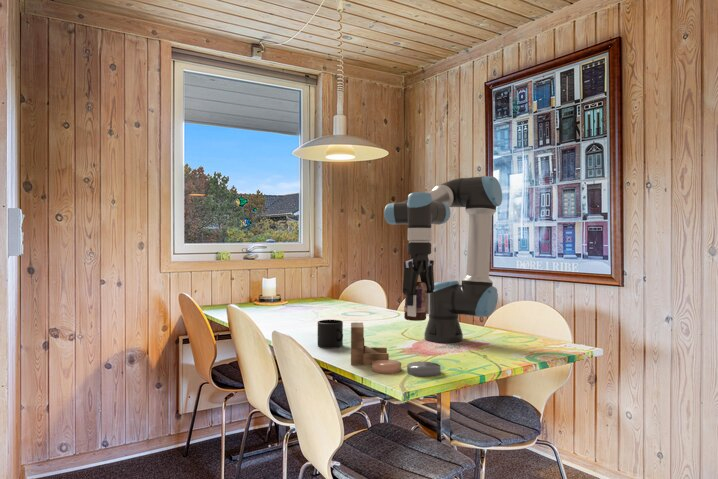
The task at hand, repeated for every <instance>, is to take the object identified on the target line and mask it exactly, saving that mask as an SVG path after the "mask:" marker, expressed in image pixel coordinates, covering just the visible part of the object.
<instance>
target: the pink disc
mask: <svg viewBox="0 0 718 479" xmlns="http://www.w3.org/2000/svg"><path fill="white" fill-rule="evenodd" d="M371 371H372V372H374V373H378V374H388V375H389V374H396V373H400V372H401V371H402V362H401V361H399V360H395V359H389V360H376V361H373V362H372V365H371Z"/></svg>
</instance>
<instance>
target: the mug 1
mask: <svg viewBox="0 0 718 479" xmlns="http://www.w3.org/2000/svg"><path fill="white" fill-rule="evenodd" d="M343 324H344V322H343V321H342V320H340V319H321V320H318V321H317V346H318V347H320V348H323V349H337V348H340V347H342V346H343V344H344V343H343V342H344V340H343V337H344V334H343V333H344V332H343V330H344V328H343V327H344V325H343Z"/></svg>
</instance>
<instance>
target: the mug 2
mask: <svg viewBox="0 0 718 479" xmlns="http://www.w3.org/2000/svg"><path fill="white" fill-rule="evenodd" d="M411 291H412V290H411ZM404 295H405V294H404ZM414 295H416V317H412V316H407V309H408V305H407V295H405V296H404V300H405V301H404V309H403V311H404V315H403V316H404V317H403V318H404V319H405V320H407V321H412V322H413V321H415V322H422V321H426V319H427V314H426V312H427V309H426V295H427V287H426V284H425V283H424V282H421V281H417V285H416V290H415V294H414Z"/></svg>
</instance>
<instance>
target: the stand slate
mask: <svg viewBox="0 0 718 479" xmlns="http://www.w3.org/2000/svg"><path fill="white" fill-rule="evenodd" d="M406 370H407V371H406V373H407V374H409V375H411V376H414V377H422V378H429V377H430V378H432V377H431V376H433V377H437V376H439V374H440V375H441V365H440V364H438V363H436V362H434V361H433V362H431V361H412V362H409V363H407V365H406Z"/></svg>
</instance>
